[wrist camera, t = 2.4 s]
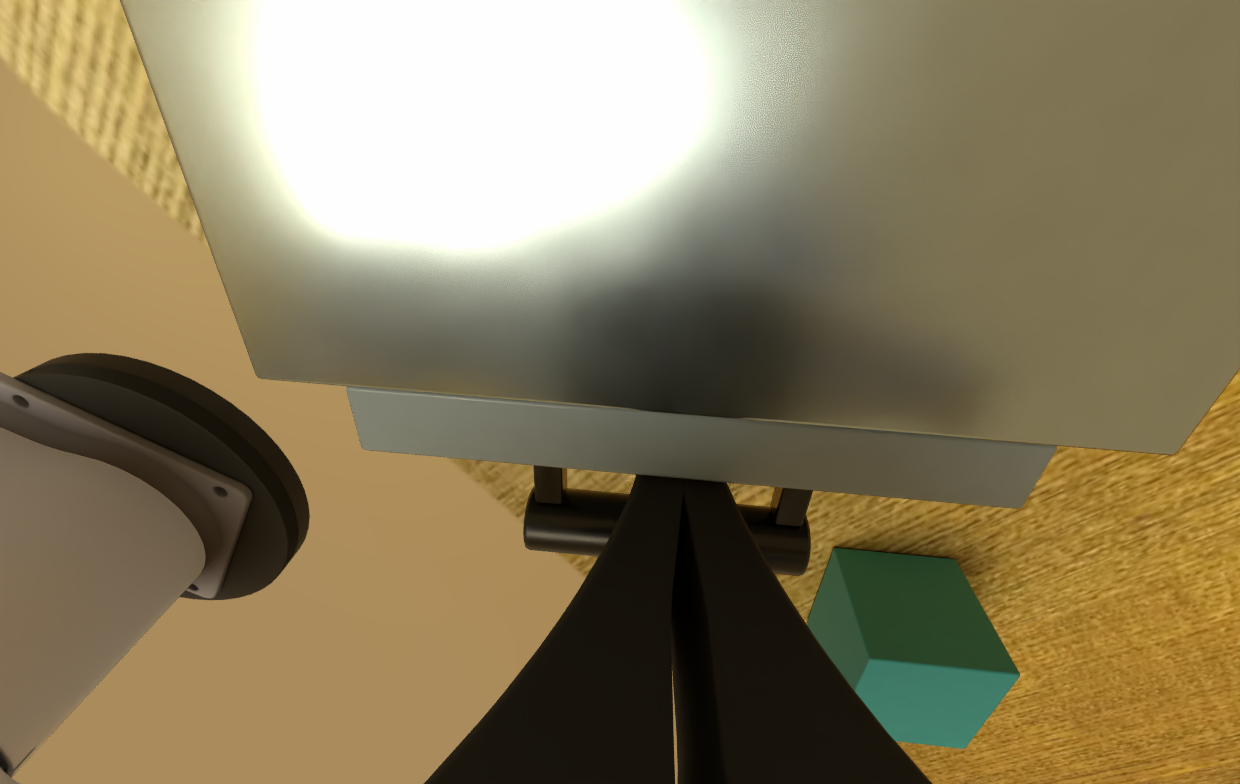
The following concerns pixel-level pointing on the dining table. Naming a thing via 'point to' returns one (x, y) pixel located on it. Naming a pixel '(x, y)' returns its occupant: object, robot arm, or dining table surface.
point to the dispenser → (728, 204)
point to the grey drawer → (691, 462)
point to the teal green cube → (912, 644)
